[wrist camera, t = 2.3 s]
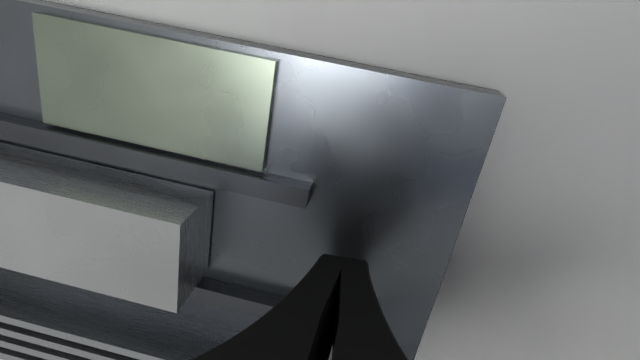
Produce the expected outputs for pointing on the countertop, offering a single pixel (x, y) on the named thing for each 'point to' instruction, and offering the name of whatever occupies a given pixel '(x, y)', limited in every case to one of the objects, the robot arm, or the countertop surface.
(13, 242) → the rectangular block
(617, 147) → the countertop surface
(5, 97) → the heatsink base
